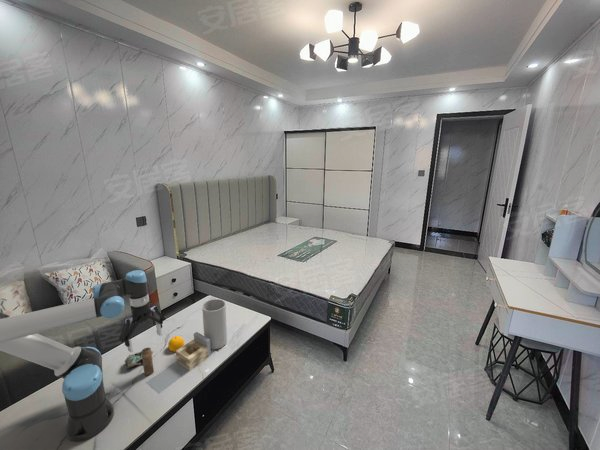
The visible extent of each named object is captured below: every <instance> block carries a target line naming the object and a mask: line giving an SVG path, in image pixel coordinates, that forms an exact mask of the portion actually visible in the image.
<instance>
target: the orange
mask: <svg viewBox="0 0 600 450" xmlns="http://www.w3.org/2000/svg"><path fill="white" fill-rule="evenodd" d="M167 345H168V349H169V351H171V352H174V353H176V350H178V349H179V348H181V347H183V346H184V345H185V340H184V339H183V337H182V336H180V335H179V336H178V335H177V336H173V337H171V339H169V342H168V344H167Z"/></svg>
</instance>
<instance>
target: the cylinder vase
mask: <svg viewBox="0 0 600 450" xmlns="http://www.w3.org/2000/svg"><path fill="white" fill-rule="evenodd" d="M201 308H202V310H201V311H202V322H203V325H202V326H203V336H205V337H207V338H208V339H210V348H211V350H213V351H214V350H218V349H221V348H223V347H224V346H225V345H226V344H227V342H228V331H227V330H228V326H227V311H226V310H227V308H226V301H225V300H224V299H220V298H218V299H217V298H215V299H209V300H207V301H205V302H204V303H202V306H201Z"/></svg>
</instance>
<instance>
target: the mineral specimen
mask: <svg viewBox="0 0 600 450" xmlns="http://www.w3.org/2000/svg"><path fill="white" fill-rule="evenodd" d="M153 353H154V352H153V350H151V354H152V355H153ZM124 363H125V370H127V369H132V368H133V367H134V366H139V365H143V360H142V354H141V351H140V352H136V353H132V354H129V355H128V356H127V357H126V359H124Z"/></svg>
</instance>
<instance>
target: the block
mask: <svg viewBox="0 0 600 450" xmlns="http://www.w3.org/2000/svg"><path fill="white" fill-rule="evenodd" d="M175 354H176V355H175V356H176V362H179V363H180V364H181V365H183V366H184V367H186V368H187V369H188V370H190V371H191V369H192V370H193V369H194V368H196V367H197V366H198V365H200V364H201V363H203V361H205V360H206V359H208V358H209V357H208V351H207V347H206V346H205V345H203V344H201V343H200V342H198V341H196V340H195V339H194V338H193V339H191V341H189V342H188V343H185V344H184V345H183V347H181V348H179V349H178V350H176V352H175ZM195 366H196V367H195Z"/></svg>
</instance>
